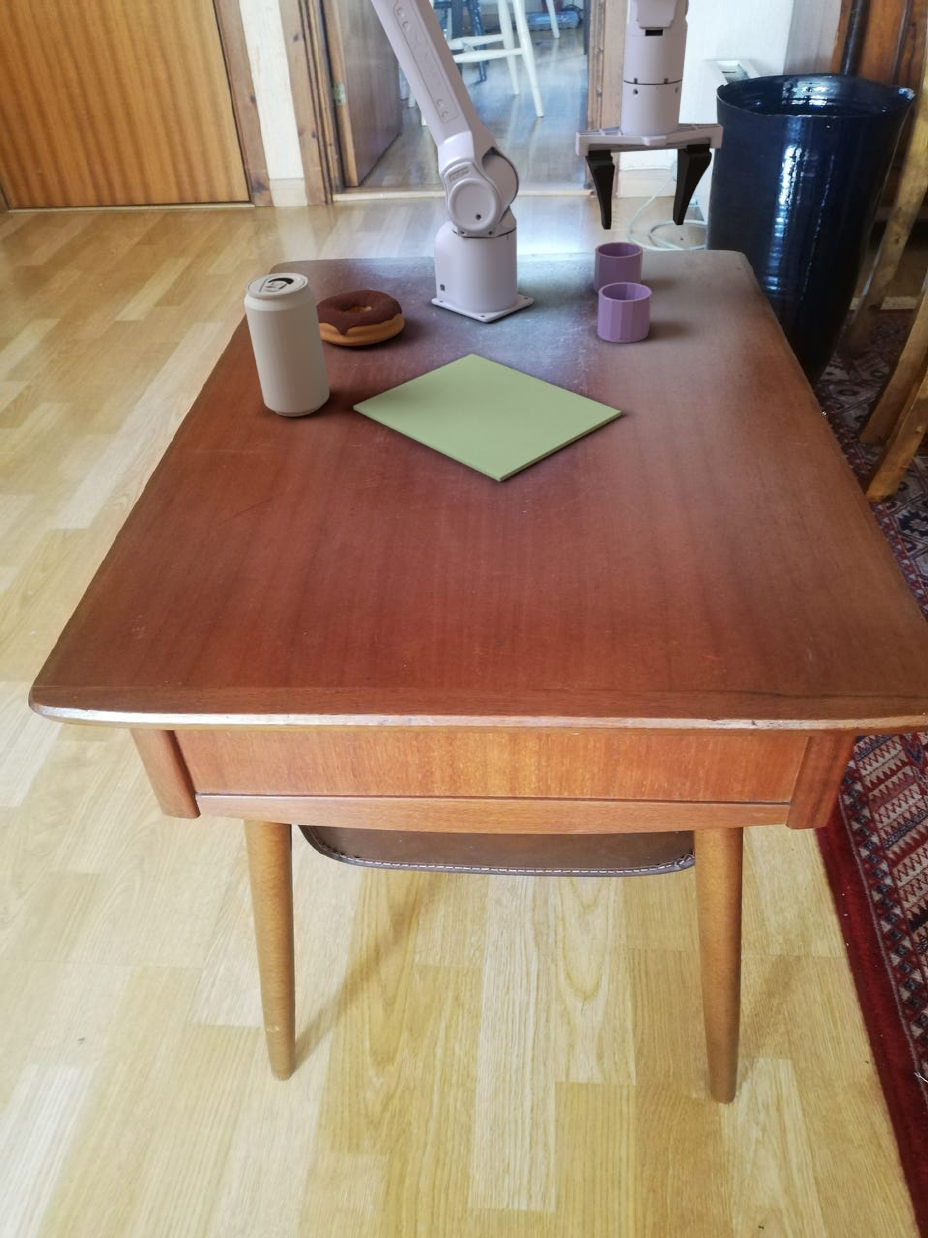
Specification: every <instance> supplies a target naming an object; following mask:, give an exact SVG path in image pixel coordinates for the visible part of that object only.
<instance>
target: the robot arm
mask: <svg viewBox="0 0 928 1238" xmlns="http://www.w3.org/2000/svg"><path fill="white" fill-rule="evenodd" d="M370 2H371V3H372V6H373V8H374V11H375V12H376V14H377V16H378V20H379V22H380V23H381V26H382V29H383V30H384V32H385V34H386V37H387V39H388V41H389V43H390V46H391V48H392V50H393V53H394V55H395V57H396V59H397V61H398V63H399V66H400V68H401V70H402V73H403V74H404V77H405V79H406V81H407V84H408V85H409V88H410V90H411V92H412V95H413V97H414V99H415V102H416V103H417V106H418V108H419V110H420V112H421V114H422V117H423V119H424V121H425V124H426V126H427V128H428V130H429V133H430V135H431V137H432V139H433V142H434V144H435V146H436V148H437V162H438V165H437V167H438V168H437V169H438V175H439V177H440V180H441V182H442V184H443V188H444V192H445V194H444V195H445V202H444V203H445V210H446V214H447V216H448V218H449V220H448V221H446V222H445V223H444V224H442V226H441V227H440V228H439V230H438V231H437V234H436V236H435V239H434V243H433V257H434V259H433V260H434V275H435V287H436V289H435V290H436V297H434V298H432V299H431V304H433V305H434V306H438V307H440V308H443V309H446V310H449V311H452V312H455V313H457V314H460V315H462V316H466V317H469V318H470V319H474V320H477V321H480V322H482V323H490V322H493V321H494V320H497V319H499V318H502V317H504V316H506V315H508V314H511V313H514V312H515V311H518V310H520V309H523V308H525V307H529V306H530V305H532V304H533V303H534V298H532V297H529V296H526V295H522V294H519V293H518V227H517V223H518V221H517V218H516V217H515V215H514V213H513V211H512V208H511V204H513V202H514V201H515V199H516V198H517V196H518V194H519V189H520V176H519V172H518V169H517V167H516V165H515V164H514V162H513V161H512V160H511V158H509V157H508V156H507V155H506V154H504V152H503V151H502V150H501V149H500V147H499V146H498V144H497V141H496V138H495V137H494V135H493V134H492V133H491V132H490V130H488V129H487V127H486V126H484V124H483V123H482V122H481V120H480V118H479V115H478V113H477V111H476V108H475V105H474V103H473V100H472V98H471V96H470V94H469V91H468V88H467V86H466V85H465V82H464V79H463V77H462V75H461V72H460V70H459V68H458V65H457V63H456V60H455V58H454V56H453V54H452V50H451V49H450V46H449V44H448V42H447V39H446V37H445V33H444V32H443V29H442V27H441V25H440V22H439V20H438V17H437V15H436V13H435V11H434V8H433V6H432V3H431V1H430V0H370ZM689 5H690V0H629V12H628V13H629V16H628V23H627V24H626V27H625V43H624V44H625V45H624V61H623V62H624V63H623V80H622V97H621V110H620V112H621V113H620V125H617V126H610V127H603V128H596V129H589V130H579V131H575V144H574V145H575V146H574V147H575V148H574V152H575V154H576V155H577V157H584V158H585V161H586V163H587V166H588V169H589V172H590V174H591V177H592V180H593V183H594V187H595V190H596V196H597V199H598V204H599V205H598V206H599V211H600V220H601V223H600V224H601V226H602V229H603V230H605V231H609V230H612V223H613V207H612V206H613V203H612V201H613V189H614V180H615V179H614V178H615V172H616V171H615V170H616V165H615V163H614V162H613V161H614V156H612V154H614V153H615V154H616V153H617V154H618V153H632V152H649V151H650V152H651V151H665V150H676V152H677V153H676V182H675V183H676V184H675V193H674V198H673V199H674V200H673V206H672V207H673V208H672V221H673V222H674V224H675V226H678V227H679V226H683V225H684V223H685V218H686V216H687V212H688V209H689V206H690V203H691V201H692V198H693V195H694V194H695V191H696V190H697V187H698V185H699V183H700V182H701V180H702V178H703V176H704V174H705V173H706V171H707V170H708V168H709V167H710V165H711V162H712V160H713V159H712V158H713V153H712V152H711V151H710V150H711V149H712V150H715V149H716V150H717V149H722V143H723V135H724V127H723V126H722V125H721V124H720V123H719V122H718V123H717V122H716V123H715V122H713V123H711V122H710V123H696V122H695V123H693V122H691V123H689V122H680V112H681V104H682V103H681V102H682V94H683V93H682V91H683V81H684V72H685V71H684V70H685V60H686V49H687V39H688V38H687V37H688V29H689V28H688V27H689V24H688V21H687V15H688V13H689Z"/></svg>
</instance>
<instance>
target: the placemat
mask: <svg viewBox="0 0 928 1238" xmlns="http://www.w3.org/2000/svg"><path fill="white" fill-rule="evenodd" d="M352 408H353V410H354V411H356V412H358V413H360V414H361V415H364V416H366V417H368V418H370V419H371V420H374V421H376V422H378V423H380V424H381V425H384V426H386V427H388V428H390V429H392V430H394V431H397V432H398V433H401V434H402V435H404V436H407V437H409V438H411V439H413V440H414V441H416V442H419V443H420V444H423V445H425V446H427V447H429V448H430V449H432V450H434V451H437V452H439V453H441V454H443V455H445V456H447V457H449V458H450V459H453V460H455V461H457V462H459V463H461V464H463V465H465V466H467V467H469V468H471V469H473V470H475V471H478V472H479V473H481V474H483V475H486V476H487V477H490V478H491V479H493V480H495V481H497V482H499V483H500V482H503V481H505V480H506V479H508V478H510V477H512V476H513V475H515V474H517V473H518V472H521V471H522V470H524V469H527V468H528V467H529V466H531V465H533V464H535V463H537V462H539V461H540V460H542V459H544V458H546V457H548V456H549V455H551V454H554V452H555V453H556V452H557V451H559V450H561V449H563V448H565V446H567V445H570V444H571V443H573V442H575V441H576V440H578V439H580V438H582V437H584V436H586V435H588V434H589V433H591V432H593V431H596V430H598V429H599V428H601V427H603V426H604V425H606V424H608V423H609V422H611V421H613V420H615V419H617V418H619V417H620V416H622V411H621V410H619V409H616V408H614V407H611V406H608V405H606V404H603V403H601V402H598V401H596V400H593V399H591V398H587V397H586V396H582V395H580V394H578V393H575V392H572V391H570V390H567V389H565V388H562V387H559V386H557V385H554V384H552V383H549V382H546V381H544V380H541V379H540V378H537V377H534V376H531V375H528V374H526V373H525V372H521V371H519V370H516V369H514V368H511V367H508V366H506V365H503V364H501V363H498V362H496V361H492V360H490V359H488V358H486V357H483V356H480V355H477V354H474V353H470V354H468V355H466V356H463V357H461V358H459V359H456V360H454V361H452V362H450V363H447V364H445V365H443V366H440V367H438V368H436V369H433V370H432V371H429V372H426V373H425V374H422V375H420V376H418V377H415V378H413V379H411V380H409V381H407V382H405V383H402V384H400V385H398V386H396V387H393V388H391V389H389V390H386V391H384V392H382V393H380V394H377V395H375V396H372V397H370V398H368V399H366V400H364V401H361V402H359V403H357V404H355V405H353V407H352Z"/></svg>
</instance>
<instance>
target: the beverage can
mask: <svg viewBox="0 0 928 1238" xmlns="http://www.w3.org/2000/svg"><path fill="white" fill-rule="evenodd" d="M245 292H246V295H245V297H244V300H243V303H244V310H245V314H246V319H247V324H248V329H249V333H250V339H251V344H252V348H253V353H254V358H255V363H256V369H257V375H258V378H259V383H260V388H261V392H262V393H261V394H262V398H263V403H264V405H265V406H266V407H267V408H268V409H269V410H271V411H274V413H275V414H277V415H280V416H283V417H301V416H306V415H309V414H312V413H314V412H316V411H317V410H319V409H320V408H321V407H322V406H323V405H324V404H325V403H326V402H327V401H328V399H329V397H330V387H329V381H328V374H327V368H326V367H327V366H326V361H325V355H324V348H323V343H322V342H323V340H322V339H321V334H320V328H319V321H318V315H317V308H316V306H317V302H316V295H315V292H314V290H313V289H312V287H310V286H309V279H308V278H307V276H306V275H303V274H301V273H295V272H276V273H269V274H265V275H264V274H263V275H260V276H258V277H255V278H253V279H251V280H249V281H248V282H247V283H246V285H245Z"/></svg>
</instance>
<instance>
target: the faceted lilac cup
mask: <svg viewBox="0 0 928 1238" xmlns="http://www.w3.org/2000/svg"><path fill="white" fill-rule="evenodd" d="M597 294H598V295H597V296H598V298H597V315H596V316H597V318H596V333H597V336H598V337H599V338H600V339H602V340H604V341H607V342H611V343H618V344H627V343H628V344H629V343H635V342H639V341H642V340H644V339H645V338H647V337H648V335H649V330H650V322H651V321H650V320H651V310H652V309H651V308H652V298H653V297H652V296H653V292H652V289H651V287H648V286H647V285H645V284H642V283H641V284H638V283H629V282H628V283H627V282H624V283H614V284H609V285H606V286H604V287H602V288H601V289H600V290H599V293H597Z"/></svg>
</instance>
